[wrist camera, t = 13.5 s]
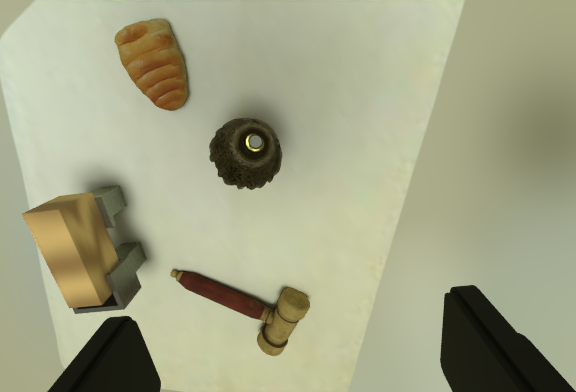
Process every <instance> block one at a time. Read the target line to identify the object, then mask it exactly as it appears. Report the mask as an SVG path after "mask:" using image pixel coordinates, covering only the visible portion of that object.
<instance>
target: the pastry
mask: <svg viewBox="0 0 576 392" xmlns="http://www.w3.org/2000/svg"><path fill="white" fill-rule="evenodd" d="M115 43H116V45H117V47H118V50H119V55H120V58H121V62H122V64H123V66H124V67H125V69H126V70H127V72H128V74H129V76H130V77H131V79H132V80H133V81H134V83H135V84H136V86H137V87H138V88H139V89H140V90H141V91H142V92H143V94H145V95H146V96H147V97H148V98H150V100H151V101H152V102H153V103H154V104H155V105H156V106H157V107H159V108H162V109H165V110H169V111H173V110H177V109H179V108H181V107H182V106H183V105H184V103H185V101H186V99H187V96H188V91H187V85H186V81H187V77H186V73H185V64H184V60H183V57H182V54H181V53H180V52H179V50H178V46H177V43H176V40H175V38H174V36H173V34H172V32H171V29H170V25H169V23H168V22H167V21H166V20H164V19H151V20H150V21H142V22H139V23H135V24H132V25H129V26H126V27H124V28H123V29H122V30H121V31H119V32H118V33H117V34H116V36H115Z"/></svg>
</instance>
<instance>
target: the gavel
mask: <svg viewBox="0 0 576 392" xmlns="http://www.w3.org/2000/svg"><path fill="white" fill-rule="evenodd" d="M170 275H171V276H172V277H176V281H178V282H179V283H180V284H181V285H182V286H183V287H184V288H185V289H187V290H189V291H192V292H194V293H196V294H198V295H201V296H203V297H205V298H208V299H210V300H212V301H214V302H217V303H219V304H221V305H224V306H226V307H228V308H230V309H233V310H235V311H237V312H240V313H242V314H244V315H246V316H249V317H251V318H255V319H259V320H262V321H265V322H266V323H267V324H265V325H264V326H263V327H262V329H261V331H260V333H259V334H258V337H257V342H258V345H259V347H260V348H261V350H262V351H263V352H265V353H266V354H268V355H271V356H277V355H279V354H281V353H282V351H283V349H284V348H285V346H286V345H287V342H288V338H289V336H290V334H291V333H292V331H293V330H294V328H295V326H296V325H297V323H298V322H299V320H301V319H303V318H304V316H305V314H306V313H307V311H308V310H309V308H310V302H309V300H308V298H307V297H306V296H305V295H304V294H303V293H302V292H301V291H298V290H296V289H293V288H286V289H285V290H284V291H283V292H282V294H281V296H280V297H279V299H278V303H277V304H278V305H277V307H276V309H275V310H274V309H269V307H266V306H264V305H263V304H261V303H260V302H258V301H256V300H254V299H252V298H250V297H247V296H245V295H243V294H241V293H238V292H236V291H234V290H231V289H229V288H227V287H225V286H222V285H220V284H218V283H216V282H213V281H211V280H209V279H207V278H204V277H202V276H200V275H198V274H195V273H188V272H182V271H181V272H179V273H178V272H177V271H175V270H173V271H172V272H171V274H170Z"/></svg>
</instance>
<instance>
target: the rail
mask: <svg viewBox="0 0 576 392" xmlns="http://www.w3.org/2000/svg"><path fill="white" fill-rule="evenodd" d="M22 215H23V217H24V219H25V221H26V223H27V225H28V227H29V229H30V231H31V233H32V235H33V237H34V239H35V241H36V243H37V245H38V247H39V249H40V251H41V253H42V255H43V257H44V259H45V261H46V263H47V265H48V267H49V269H50V271H51V273H52V275H53V277H54V279H55V281H56V283H57V285H58V287H59V289H60V291H61V293H62V295H63V297H64V299H65V301H66V303H67V305H68V307H69V308H76V307H87V306H97V305H102V304H103V303H104V302H105V301H106V300H107V299H108V298H109V297H110V295H111V294H112V293H113V292H112V290H111V288H110V285H109V283H108V281H107V278H106V276H105V275H106V274H107V273H108V272H109V271H110V270H111V269H112V268H113V267H114V266H115V265H116V264H117V263H118V262H119V259H118V257H117V254H116V252H115V249H114V247H113V244H112V242H111V239H110V237H109V234H108V232H107V229H106V227H105V224H104V222H103V219H102V217H101V214H100V212H99V209H98V207H97V204H96V202H95V199H94V197H93V194H92V192H89V193H81V194H73V195H65V196H59V197H57V198H54V199H52V200H50V201H48V202H46V203H44V204H42V205H40V206H38V207H36V208H33V209H31V210H29V211H27V212H25V213H23V214H22Z"/></svg>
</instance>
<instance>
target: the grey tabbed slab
mask: <svg viewBox="0 0 576 392" xmlns="http://www.w3.org/2000/svg"><path fill="white" fill-rule="evenodd" d="M92 194H93V197H94V199H95V202H96V204H97V207H98V209H99V212H100V214H101V217H102V219H103V222H104V224H105V227H106V228H112V227H114V226H116V224H115V221H114V219H113V215H115V214H116V213H117V212H119V211H120V210H122V209H123V208H124V207H126V206H127V204H126V202H125V199H124V196H123V193H122V191H121V188H120V186H112V187H104V188H98V189H96V190H95V191H93V192H92Z"/></svg>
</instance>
